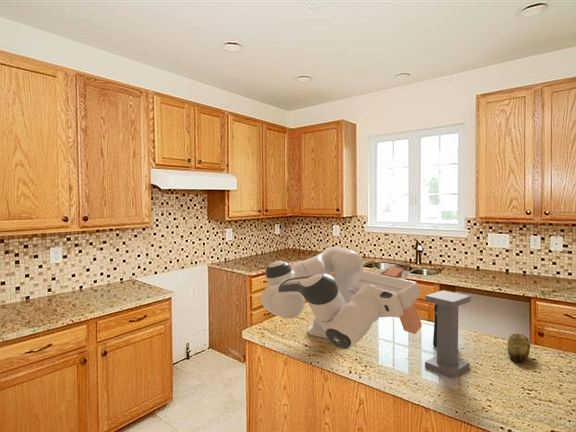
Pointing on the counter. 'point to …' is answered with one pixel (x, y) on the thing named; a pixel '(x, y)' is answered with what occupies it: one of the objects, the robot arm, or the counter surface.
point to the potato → (518, 347)
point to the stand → (447, 334)
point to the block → (410, 314)
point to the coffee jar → (435, 326)
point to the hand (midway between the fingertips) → (397, 270)
